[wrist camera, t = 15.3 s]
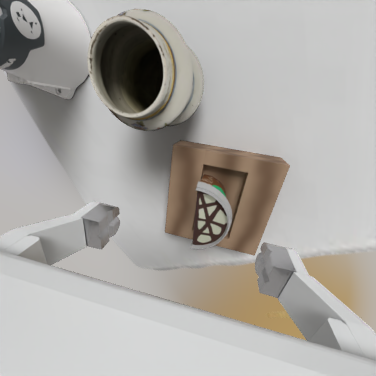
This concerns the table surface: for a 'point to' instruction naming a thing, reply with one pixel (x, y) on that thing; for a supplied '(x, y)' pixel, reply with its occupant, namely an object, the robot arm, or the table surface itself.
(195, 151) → the walnut base
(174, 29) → the apothecary jar
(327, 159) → the table surface
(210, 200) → the food container
